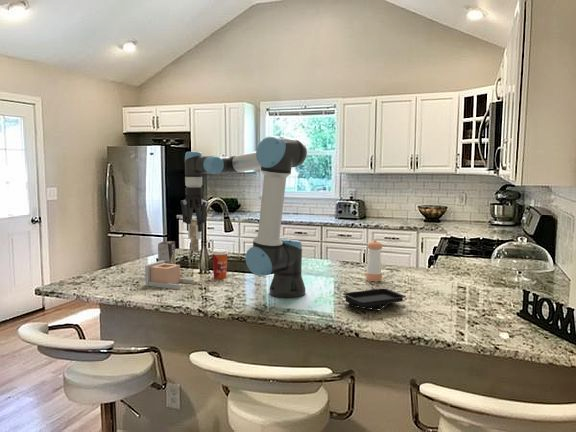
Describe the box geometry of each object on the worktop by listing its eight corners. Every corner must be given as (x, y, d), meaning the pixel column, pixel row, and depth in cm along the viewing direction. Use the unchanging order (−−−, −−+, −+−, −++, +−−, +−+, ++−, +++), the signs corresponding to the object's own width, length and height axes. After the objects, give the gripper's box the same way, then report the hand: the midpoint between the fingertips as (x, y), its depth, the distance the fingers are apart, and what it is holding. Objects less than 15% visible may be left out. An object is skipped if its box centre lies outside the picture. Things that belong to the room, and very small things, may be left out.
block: (180, 282, 211) (180, 264, 211) (168, 287, 203) (167, 268, 202) (163, 280, 215) (163, 263, 214) (151, 285, 206) (150, 267, 206)
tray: (353, 293, 200) (353, 281, 200) (409, 299, 192) (410, 286, 192) (335, 313, 172) (335, 299, 172) (400, 321, 164) (401, 306, 164)
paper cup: (219, 282, 216) (219, 252, 215) (208, 280, 221) (208, 250, 220) (231, 279, 222) (231, 250, 221) (220, 277, 227) (220, 248, 226)
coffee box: (171, 277, 227) (170, 243, 225) (158, 276, 227) (157, 243, 225) (176, 272, 236) (175, 240, 234) (163, 272, 236) (162, 240, 234)
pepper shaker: (380, 278, 227) (382, 239, 225) (382, 282, 219) (383, 241, 217) (365, 278, 227) (366, 238, 225) (366, 281, 220) (367, 241, 218)
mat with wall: (206, 281, 218) (205, 260, 217) (181, 292, 199) (180, 268, 198) (171, 278, 225) (171, 257, 224) (144, 287, 206) (143, 265, 205)
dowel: (200, 250, 214) (199, 219, 213) (195, 251, 211) (195, 220, 210) (193, 249, 216) (193, 219, 214) (189, 250, 212) (189, 219, 211)
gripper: (214, 186, 211) (214, 238, 213) (183, 185, 217) (183, 236, 219) (205, 187, 204) (205, 240, 206) (173, 186, 210) (174, 238, 212)
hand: (194, 238), depth 213 cm, fingers closed on dowel, 3 cm apart
